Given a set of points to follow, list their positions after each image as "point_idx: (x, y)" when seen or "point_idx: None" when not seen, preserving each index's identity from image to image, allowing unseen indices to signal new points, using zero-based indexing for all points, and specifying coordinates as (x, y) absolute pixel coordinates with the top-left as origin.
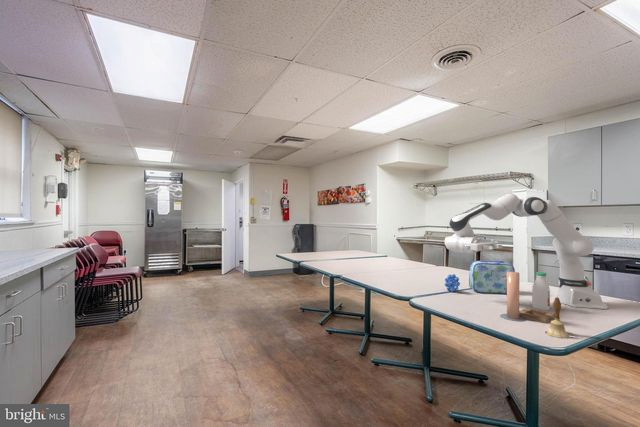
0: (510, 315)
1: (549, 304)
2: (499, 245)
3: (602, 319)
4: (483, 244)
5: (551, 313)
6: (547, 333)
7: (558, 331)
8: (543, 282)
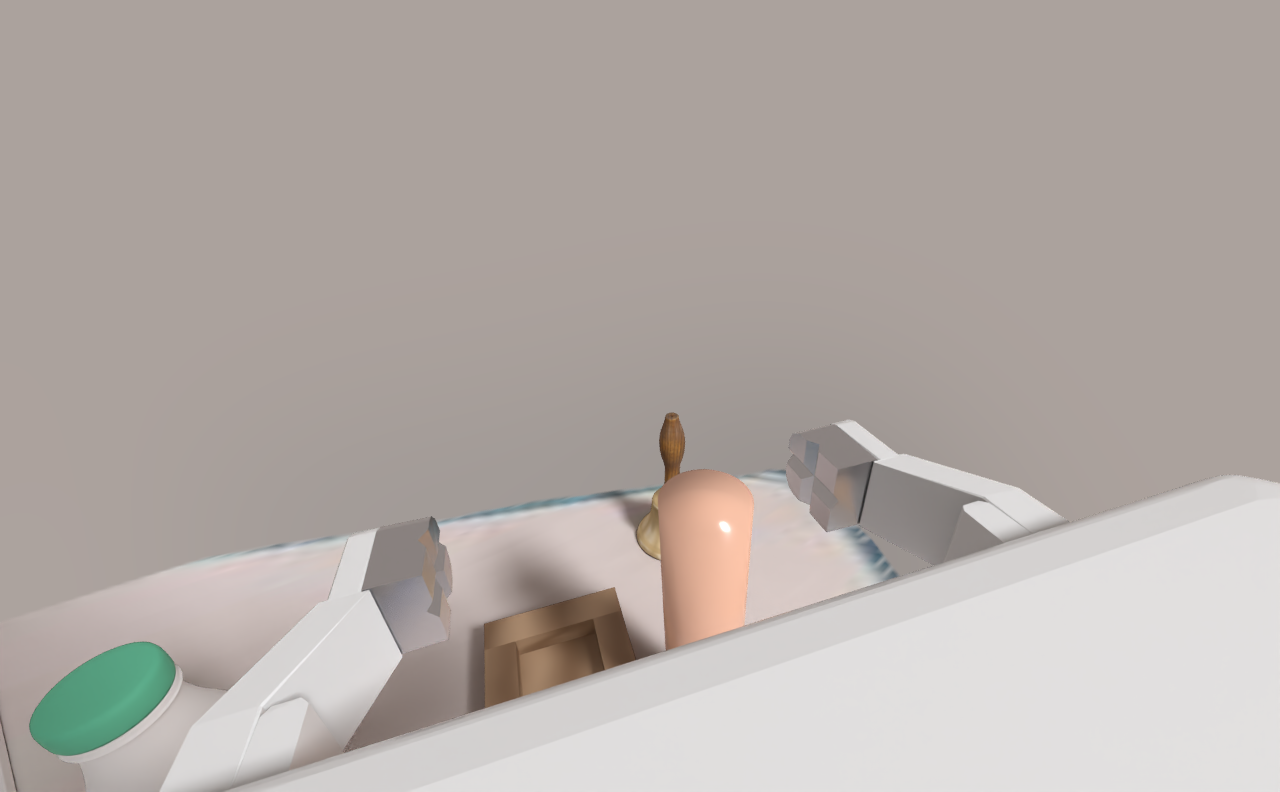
0: None
1: None
2: (419, 547)
3: (285, 595)
4: (1031, 536)
5: (488, 636)
6: None
7: None
8: (210, 691)
